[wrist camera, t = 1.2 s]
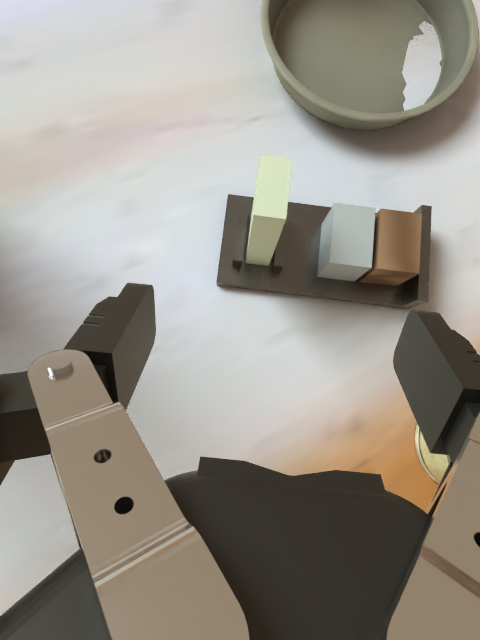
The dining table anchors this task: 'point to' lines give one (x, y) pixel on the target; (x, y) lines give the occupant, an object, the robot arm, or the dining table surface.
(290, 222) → the rack
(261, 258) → the pale green block
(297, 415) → the dining table surface
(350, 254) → the offcut
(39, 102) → the dining table surface
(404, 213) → the offcut
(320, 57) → the cake pan
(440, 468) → the coffee can
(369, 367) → the dining table surface
